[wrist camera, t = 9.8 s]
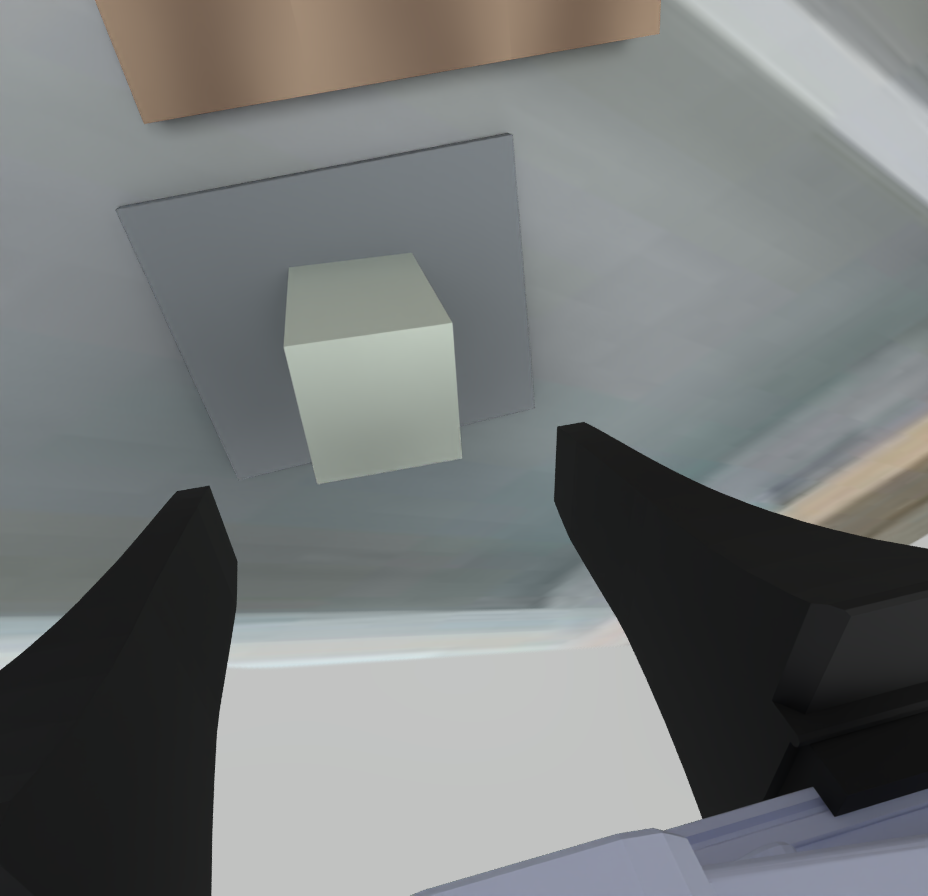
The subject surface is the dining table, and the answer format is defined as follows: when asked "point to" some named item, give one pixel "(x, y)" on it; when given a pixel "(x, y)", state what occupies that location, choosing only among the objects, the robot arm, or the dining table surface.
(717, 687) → the robot arm
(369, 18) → the pocket block
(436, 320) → the sage part
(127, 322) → the dining table surface
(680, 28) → the dining table surface
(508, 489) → the dining table surface
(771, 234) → the dining table surface
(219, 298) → the rubber mat
